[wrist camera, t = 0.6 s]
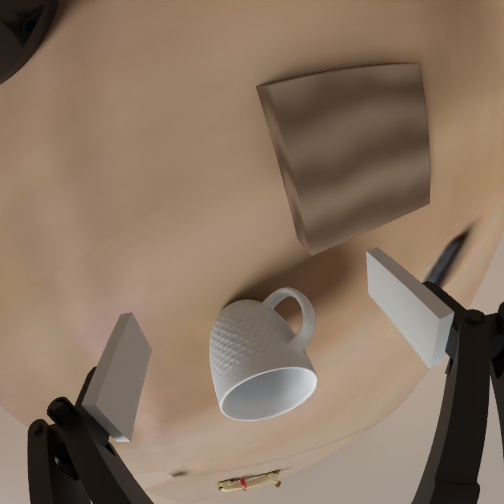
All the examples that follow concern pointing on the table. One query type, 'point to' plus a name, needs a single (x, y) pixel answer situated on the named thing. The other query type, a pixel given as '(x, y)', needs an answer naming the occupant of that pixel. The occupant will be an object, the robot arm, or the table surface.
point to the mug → (261, 358)
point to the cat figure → (249, 482)
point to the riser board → (350, 148)
